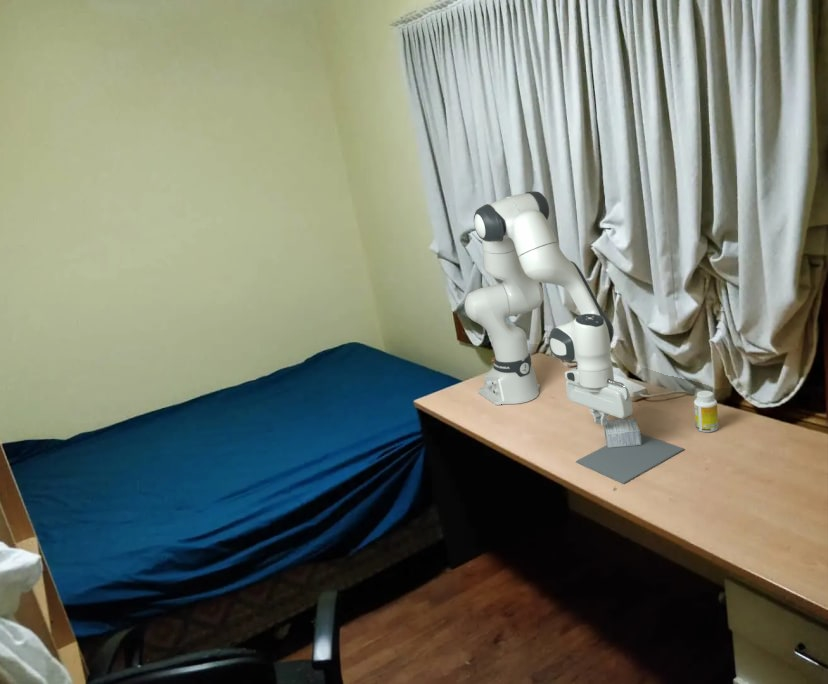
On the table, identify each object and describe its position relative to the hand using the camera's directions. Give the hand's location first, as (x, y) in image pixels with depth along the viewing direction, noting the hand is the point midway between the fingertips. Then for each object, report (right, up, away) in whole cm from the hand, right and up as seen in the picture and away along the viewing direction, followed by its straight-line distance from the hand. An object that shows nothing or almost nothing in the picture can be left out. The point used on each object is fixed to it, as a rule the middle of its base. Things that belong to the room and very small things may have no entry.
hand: (601, 423), depth 169 cm
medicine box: (+2, -3, +2) cm, 4 cm away
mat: (+6, -8, -6) cm, 11 cm away
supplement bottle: (+29, -2, +1) cm, 29 cm away
